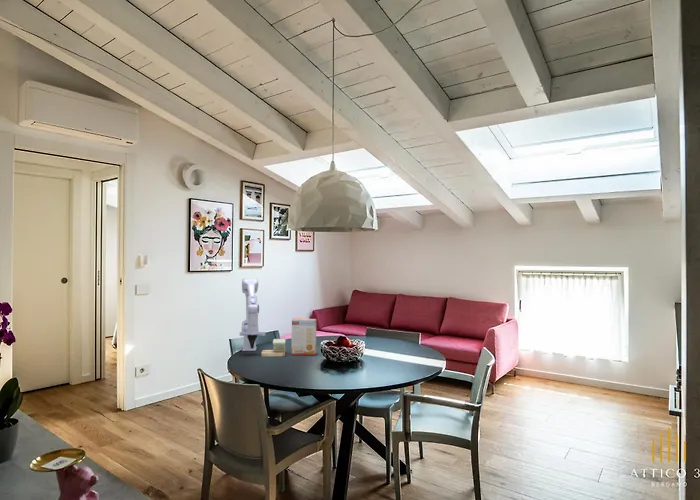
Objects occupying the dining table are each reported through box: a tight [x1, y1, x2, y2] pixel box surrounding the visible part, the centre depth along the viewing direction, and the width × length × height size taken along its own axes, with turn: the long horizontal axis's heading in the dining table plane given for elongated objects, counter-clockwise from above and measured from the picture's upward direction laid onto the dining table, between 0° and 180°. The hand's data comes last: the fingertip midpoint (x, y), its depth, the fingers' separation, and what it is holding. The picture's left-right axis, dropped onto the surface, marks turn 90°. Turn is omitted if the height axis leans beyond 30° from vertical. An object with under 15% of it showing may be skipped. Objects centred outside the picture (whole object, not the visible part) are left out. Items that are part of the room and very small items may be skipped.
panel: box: [260, 349, 284, 357], centre depth 255 cm, size 8×12×2 cm, turn 97°
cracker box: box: [290, 317, 317, 356], centre depth 259 cm, size 14×6×21 cm, turn 84°
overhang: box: [272, 338, 287, 357], centre depth 257 cm, size 12×7×8 cm, turn 7°
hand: (252, 348), depth 254 cm, fingers closed
